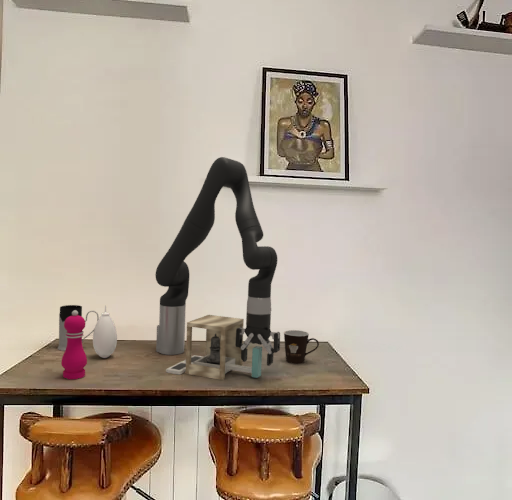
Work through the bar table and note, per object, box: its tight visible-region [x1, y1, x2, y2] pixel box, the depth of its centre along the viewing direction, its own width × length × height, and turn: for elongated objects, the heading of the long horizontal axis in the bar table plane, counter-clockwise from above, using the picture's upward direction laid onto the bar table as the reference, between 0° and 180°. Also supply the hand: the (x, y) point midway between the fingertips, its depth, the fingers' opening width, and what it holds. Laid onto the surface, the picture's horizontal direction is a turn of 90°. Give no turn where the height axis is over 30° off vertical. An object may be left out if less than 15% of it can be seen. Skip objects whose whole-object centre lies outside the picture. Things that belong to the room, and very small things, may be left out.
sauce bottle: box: [92, 305, 118, 359], centre depth 165 cm, size 8×8×18 cm
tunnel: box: [185, 314, 245, 381], centre depth 155 cm, size 13×14×16 cm
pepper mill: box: [60, 310, 88, 380], centre depth 145 cm, size 7×7×20 cm
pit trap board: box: [165, 354, 204, 376], centre depth 160 cm, size 5×18×1 cm, turn 158°
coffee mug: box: [283, 329, 320, 365], centre depth 168 cm, size 12×9×10 cm
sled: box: [193, 345, 263, 378], centre depth 154 cm, size 20×10×9 cm, turn 68°
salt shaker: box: [206, 334, 220, 365], centre depth 156 cm, size 6×6×12 cm
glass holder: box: [57, 304, 100, 352], centre depth 176 cm, size 9×14×15 cm, turn 94°
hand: (256, 363), depth 150 cm, fingers open, 7 cm apart
